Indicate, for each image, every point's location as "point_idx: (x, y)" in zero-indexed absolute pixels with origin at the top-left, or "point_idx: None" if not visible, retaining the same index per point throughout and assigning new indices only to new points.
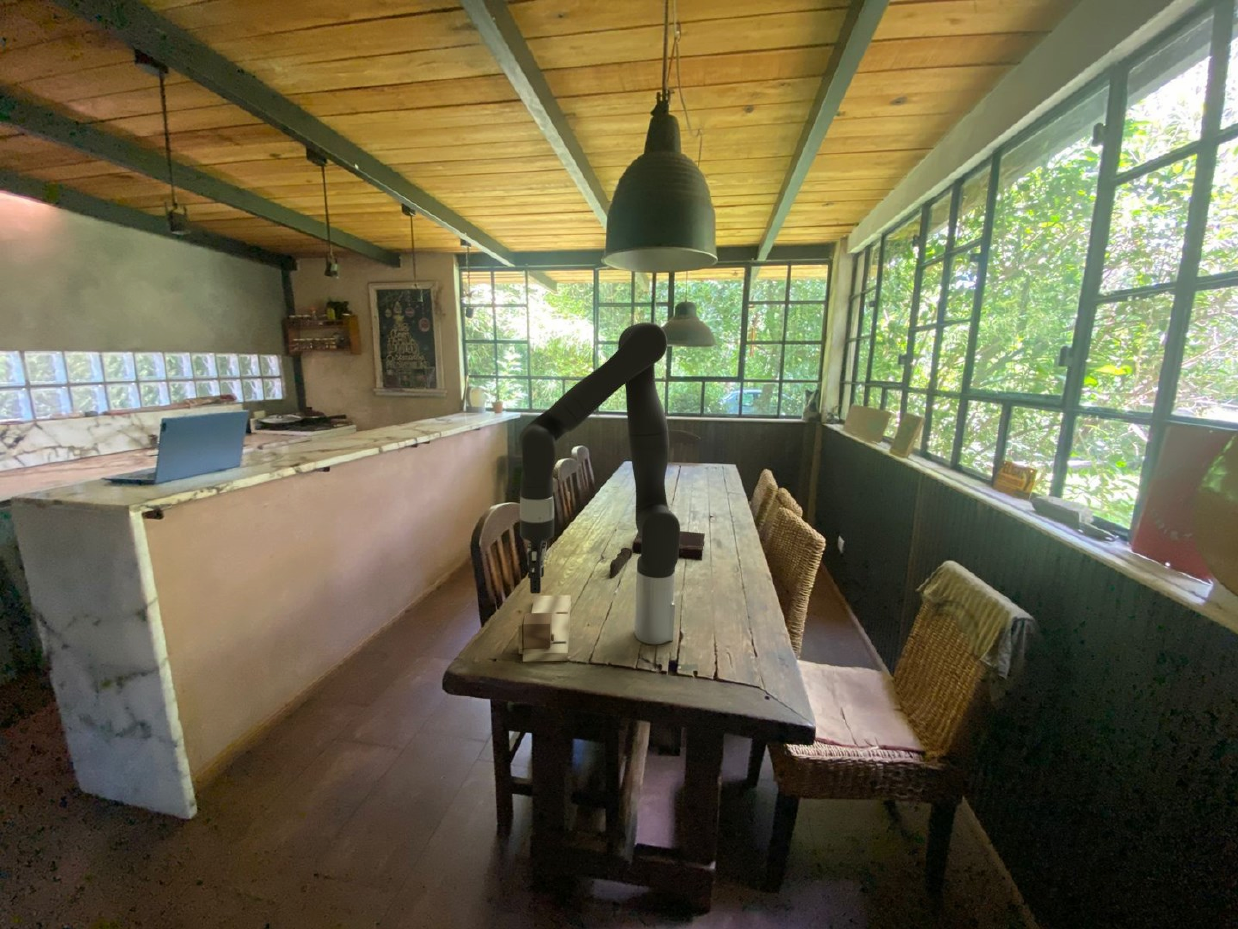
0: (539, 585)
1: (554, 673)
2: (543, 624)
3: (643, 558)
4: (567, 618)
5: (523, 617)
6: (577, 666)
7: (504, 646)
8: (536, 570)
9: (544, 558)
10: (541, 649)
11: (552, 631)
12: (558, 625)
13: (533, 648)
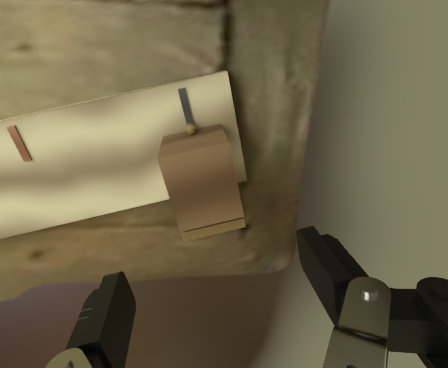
0: (330, 250)
1: (277, 90)
2: (232, 161)
3: None
4: (47, 118)
5: (199, 229)
6: (244, 37)
7: None
8: (127, 324)
9: (70, 362)
10: None
11: (134, 141)
12: (97, 134)
13: None
